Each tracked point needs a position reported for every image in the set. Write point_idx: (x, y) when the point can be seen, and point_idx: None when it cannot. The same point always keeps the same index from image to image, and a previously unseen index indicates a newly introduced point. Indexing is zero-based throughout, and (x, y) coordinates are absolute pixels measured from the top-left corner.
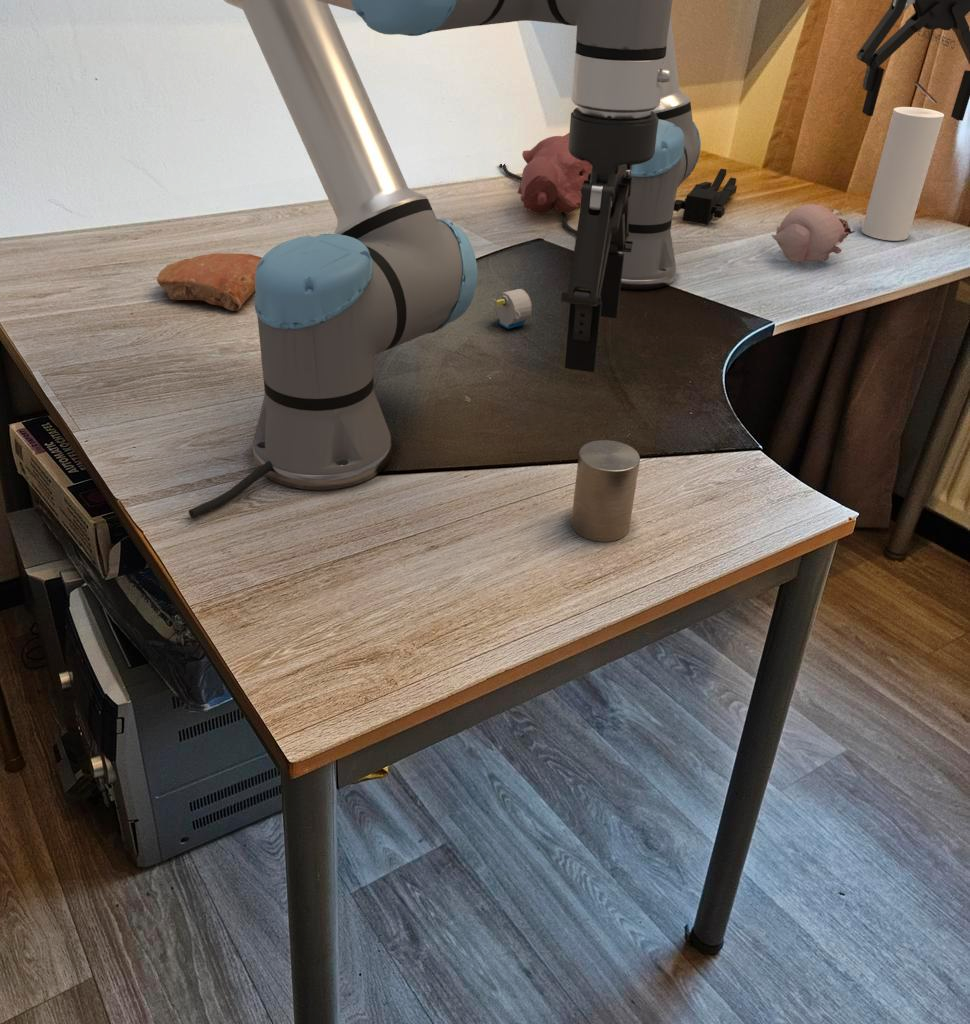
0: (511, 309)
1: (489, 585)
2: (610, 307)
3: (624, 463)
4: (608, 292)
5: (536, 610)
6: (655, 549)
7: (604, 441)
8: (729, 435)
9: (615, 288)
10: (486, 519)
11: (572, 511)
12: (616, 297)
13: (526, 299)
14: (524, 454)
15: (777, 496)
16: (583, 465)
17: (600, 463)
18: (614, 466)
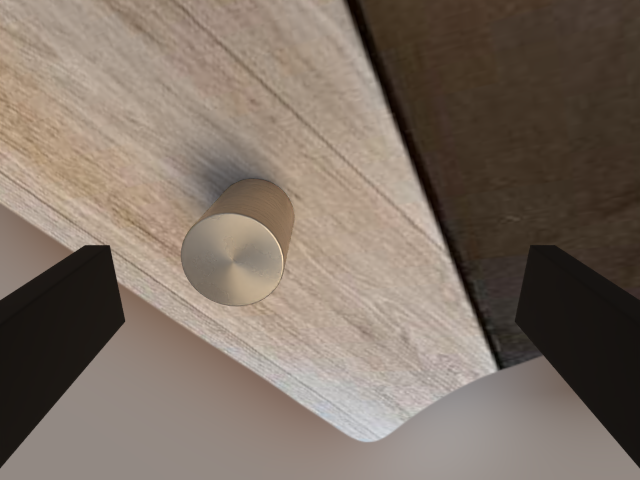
0: None
1: (61, 103)
2: (536, 320)
3: (215, 287)
4: (569, 342)
5: (49, 174)
6: None
7: (274, 247)
8: None
9: (576, 376)
10: (204, 54)
11: (241, 184)
12: (554, 358)
13: None
14: (414, 66)
15: (392, 394)
16: (195, 223)
17: (197, 252)
18: (199, 274)
